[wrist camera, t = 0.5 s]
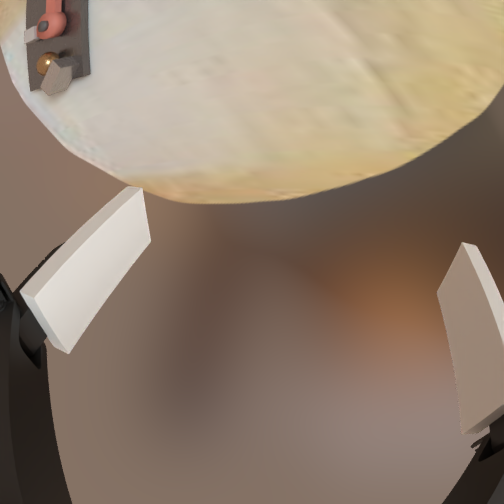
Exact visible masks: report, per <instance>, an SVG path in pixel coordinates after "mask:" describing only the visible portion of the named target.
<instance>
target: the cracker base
mask: <svg viewBox="0 0 504 504" xmlns="http://www.w3.org/2000/svg"><path fill="white" fill-rule="evenodd" d="M61 12H63V13H64V14H65V15H66V19H67V22H66V27H65V29H64V31H63V33H62V34H61V35H60V36H58V37H55V38H48V39H39V40H37V41H35V42H33V43H28V44H27V60H28V73H29V83H30V91H33V90H36V89H39V88H42V90H43V91H44V92H45V93H46V94H47V95H51V94H54V93H57V92H60V91H63V90H66V89H67V87H68V85H69V83H70V81H71V79H73V78H77V77H81V76H85V75H89V74H90V61H89V42H88V0H62V4H61ZM45 13H46V0H27V8H26V30H28V29H29V28H31V27H33V26H37V24H38V21H39V19H40V18H41V16H42V15H44V14H45Z"/></svg>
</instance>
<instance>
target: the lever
mask: <svg viewBox="0 0 504 504" xmlns="http://www.w3.org/2000/svg"><path fill="white" fill-rule="evenodd" d="M61 4H62V0H46V13H45V14H44V15H42V16H41V18H40V19H39V21H38V24H37V26H33V27H31V28H29V29H28V30H26V31H24V44H28V43H33V42H35V41H37V40H39V39H48V38H55V37H58V36H60V35H61V34H62V33H63V31H64V29H65V27H66V22H67V19H66V15H65V14H64V13H63V12H61Z"/></svg>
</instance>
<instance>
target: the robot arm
mask: <svg viewBox="0 0 504 504" xmlns="http://www.w3.org/2000/svg"><path fill="white" fill-rule="evenodd" d="M150 242H151V238H150V232H149V227H148V221H147V215H146V209H145V203H144V196H143V190H142V188H141V187H131V186H127V187H126V188H125V189H124V190H122V191H121V192H120V193H119V194H118V195H116V196H115V197H114V198H113V199H112V200H111V201H109V202H108V203H107V204H106V205H105V206H104V207H103V208H102V209H100V210H99V211H98V212H97V213H96V214H95V215H94V216H93V217H92V218H90V220H88V221H87V222H86V223H85V224H84V225H83V226H82V227H81V228H80V229H79V230H78V231H77V232H75V233H74V234H73V235H72V236H71V237H70V238H69V239H68V240H67V241H66V242H64V243H63V244H61V245H60V246H58V247H56V248H55V249H53V250H52V251H51V252H50V253H49V254H48V255H47V257H45V260H42V262H41V263H40V264H39V265H38V267H36V268H35V269H34V270H33V271H32V272H31V273H30V274H29V275H28V277H27V278H26V279H25V280H24V281H23V282H22V283H21V284H20V285H19V287H18V288H17V289H16V290H15V291H14V292H13V293H12V291H11V290H10V288H9V286H8V284H7V283H6V281H5V279H4V277H3V275H2V274H1V273H0V504H72V501H71V498H70V495H69V491H68V488H67V484H66V481H65V477H64V473H63V469H62V465H61V460H60V456H59V452H58V446H57V441H56V436H55V430H54V424H53V417H52V410H51V403H50V393H49V383H48V370H47V353H46V352H47V350H46V345H45V343H44V340H45V339H46V337H48V338H49V340H50V341H51V343H52V344H53V346H54V347H56V348H58V349H60V350H62V351H64V352H65V353H68V354H69V353H70V352H71V350H72V348H73V347H74V345H75V344H76V342H77V341H78V339H79V338H80V336H81V335H82V334H83V332H84V331H85V329H86V328H87V326H88V325H89V323H90V322H91V321H92V319H93V318H94V316H95V315H96V313H97V312H98V311H99V309H100V308H101V306H102V305H103V304H104V302H105V301H106V299H107V298H108V297H109V295H110V294H111V292H112V291H113V290H114V289H115V287H116V286H117V284H118V283H119V282H120V280H121V279H122V278H123V276H124V275H125V274H126V273H127V271H128V270H129V269H130V267H131V266H132V265H133V264H134V262H135V261H136V260H137V258H138V257H139V256H140V255H141V253H142V252H143V251H144V249H145V248H146V247H147V246H148V244H149V243H150ZM437 296H438V299H439V303H440V307H441V311H442V314H443V319H444V323H445V327H446V332H447V336H448V341H449V346H450V351H451V356H452V361H453V367H454V373H455V380H456V386H457V394H458V402H459V410H460V421H461V434H474V433H479V432H480V431H482V430H483V429H485V428H486V427H488V426H489V427H490V433H488V434H487V435H485V436H484V437H482V438H481V439H479V440H477V441H476V442H475V443H473V444H472V446H471V448H474V447H475V446H477V445H479V444H480V443H481V444H480V446H479V448H478V449H476V450H475V451H476V453H475V455H474V457H473V458H472V460H471V462H470V463H469V465H468V467H467V468H466V470H465V471H464V473H463V474H462V476H461V478H460V479H459V480H458V482H457V484H456V485H455V486H454V488H453V489H452V491H451V492H450V493H449V495H448V496H447V498H446V499H445V501H444V502H443V503H442V504H504V303H503V301H502V298H501V296H500V294H499V291H498V289H497V287H496V285H495V282H494V280H493V278H492V276H491V274H490V272H489V270H488V268H487V266H486V264H485V262H484V260H483V258H482V256H481V254H480V252H479V250H478V248H477V246H475V245H471V244H467V243H463V242H462V244H461V246H460V248H459V250H458V252H457V254H456V256H455V259H454V260H453V263H452V264H451V267H450V268H449V270H448V272H447V274H446V276H445V278H444V280H443V282H442V284H441V286H440V287H439V289H438V291H437Z"/></svg>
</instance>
